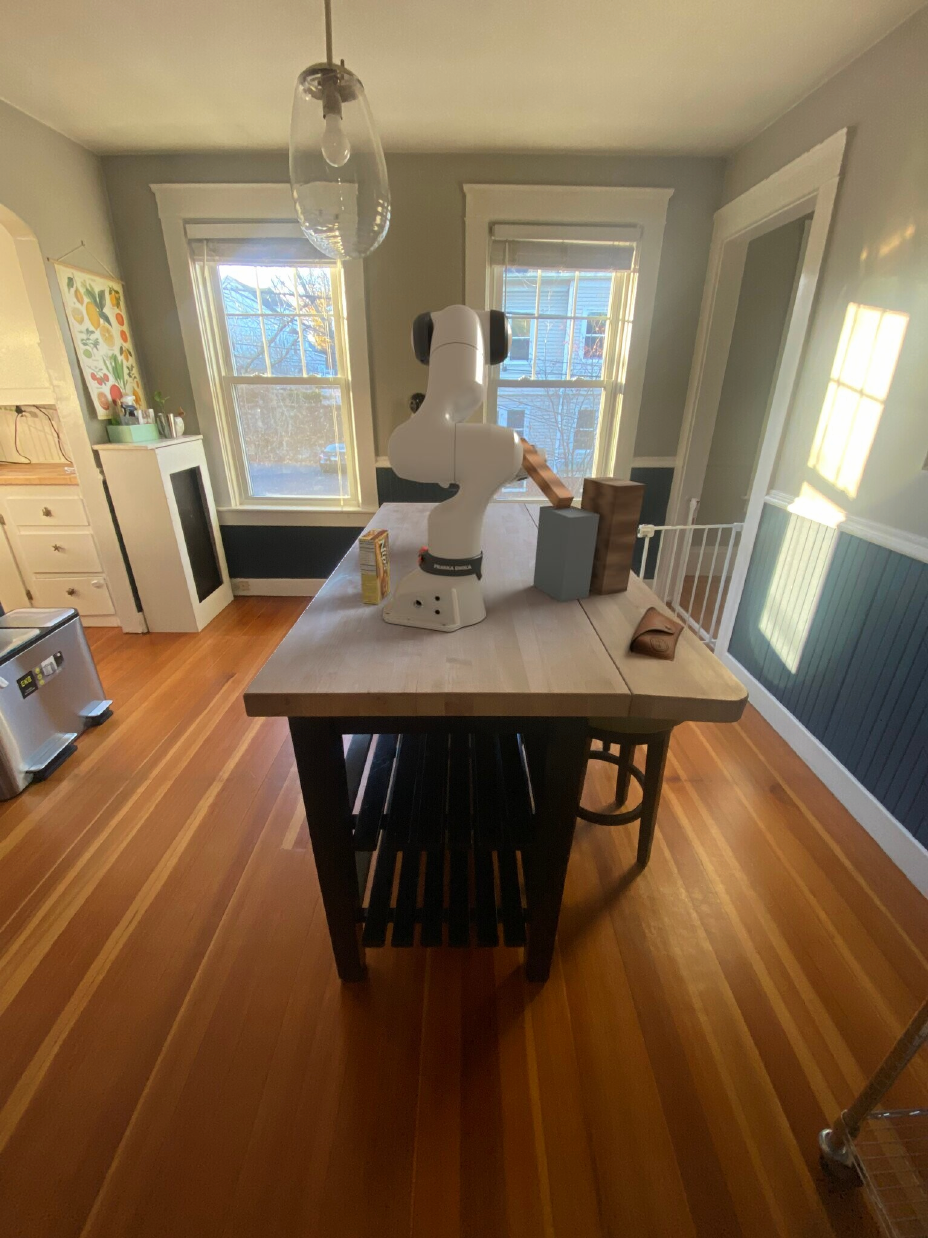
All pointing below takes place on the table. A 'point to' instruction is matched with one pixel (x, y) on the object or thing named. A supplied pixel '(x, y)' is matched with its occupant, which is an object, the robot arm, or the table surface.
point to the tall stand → (613, 529)
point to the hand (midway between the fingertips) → (525, 447)
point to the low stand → (565, 552)
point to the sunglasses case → (656, 635)
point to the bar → (545, 477)
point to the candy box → (374, 565)
